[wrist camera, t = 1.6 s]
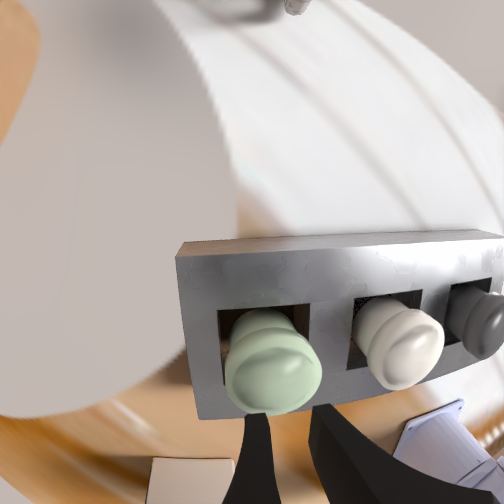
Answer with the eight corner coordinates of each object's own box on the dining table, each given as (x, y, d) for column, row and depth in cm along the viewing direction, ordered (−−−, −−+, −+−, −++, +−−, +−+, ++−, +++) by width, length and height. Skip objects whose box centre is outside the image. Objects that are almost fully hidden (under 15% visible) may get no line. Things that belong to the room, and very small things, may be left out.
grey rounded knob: (470, 328, 18) (503, 350, 14) (432, 339, 18) (466, 367, 14) (481, 275, 17) (519, 293, 13) (443, 282, 17) (483, 303, 13)
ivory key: (400, 347, 17) (433, 379, 13) (343, 358, 17) (370, 398, 13) (411, 286, 16) (451, 312, 12) (350, 294, 16) (384, 325, 12)
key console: (459, 341, 21) (482, 359, 18) (200, 385, 19) (199, 419, 16) (478, 229, 19) (509, 238, 16) (184, 242, 17) (175, 257, 13)
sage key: (298, 365, 17) (317, 409, 13) (226, 372, 16) (229, 419, 12) (301, 299, 16) (325, 335, 12) (220, 305, 15) (221, 344, 11)
